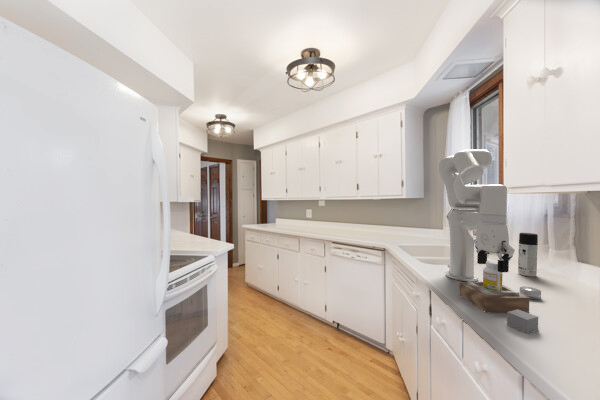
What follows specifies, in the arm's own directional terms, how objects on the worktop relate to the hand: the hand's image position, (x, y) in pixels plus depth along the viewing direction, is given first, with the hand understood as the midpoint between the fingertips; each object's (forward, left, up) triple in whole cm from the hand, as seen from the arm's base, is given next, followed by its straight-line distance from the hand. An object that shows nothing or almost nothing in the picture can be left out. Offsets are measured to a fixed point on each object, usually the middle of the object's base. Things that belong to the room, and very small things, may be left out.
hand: (492, 267), depth 89 cm
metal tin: (-6, +19, -13) cm, 24 cm away
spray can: (-32, +41, -13) cm, 54 cm away
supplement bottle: (0, 0, -8) cm, 8 cm away
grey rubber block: (+16, -3, -13) cm, 21 cm away
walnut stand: (0, 0, -13) cm, 13 cm away
